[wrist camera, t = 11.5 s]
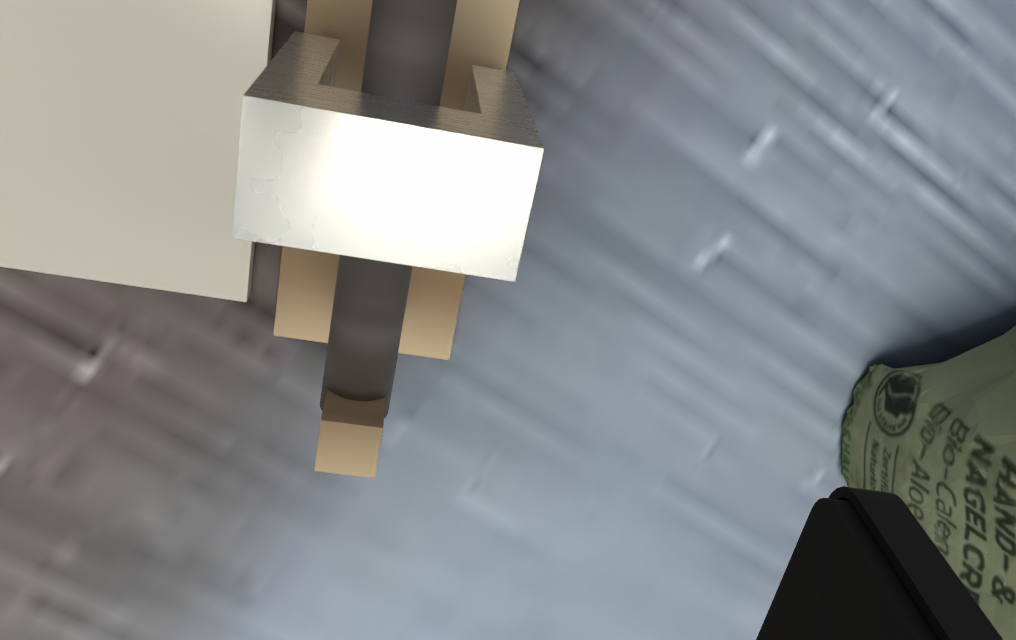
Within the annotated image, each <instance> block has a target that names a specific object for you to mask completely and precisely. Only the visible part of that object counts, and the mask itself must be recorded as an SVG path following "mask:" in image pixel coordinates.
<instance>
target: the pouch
mask: <svg viewBox="0 0 1016 640" xmlns="http://www.w3.org/2000/svg"><path fill="white" fill-rule="evenodd" d="M853 398H854V403H853V405H852V406H851V407H850V408H849V409H848V410H847V417H846V418H845V421H844V424H843V442H842V454H843V457H842V460H841V461H842V472H841V473H842V474H843V476H844V478H845V480H846V482H847V485H848V487H851V488H859V489H867V490H874V491H882V492H890V493H893V494H896V495H898V496H899V497H900V498H901V499H902V500H903V501H904V503H905V504H906V505H907V507H908V508H909V510H910V511H911V512H912V514H913V515H914V517H915V518H916V519H917V521H918V522H919V523H920V525H921V526H922V528H923V529H924V530H925V532H926V533H927V535H928V536H929V537H930V539H931V540H932V541H933V543H934V544H935V546H936V547H937V548H938V550H939V551H940V553H941V554H942V555H943V557H944V558H945V560H946V561H947V562H948V564H949V565H950V566H951V568H952V569H953V571H954V572H955V573H956V575H957V576H958V578H959V579H960V580H961V582H962V583H963V585H964V586H965V587H966V589H967V590H968V591H969V593H970V594H971V596H972V597H973V598H974V600H975V601H976V603H977V604H978V605H979V607H980V608H981V610H982V611H983V612H984V614H985V615H986V616H987V618H988V619H989V621H990V622H991V623H992V625H993V626H994V628H995V629H996V630H997V632H998V633H999V635H1000V636H1001V637H1002V639H1003V640H1016V325H1015V326H1014V327H1013V328H1011V329H1010V330H1009V331H1007V332H1006V333H1005V334H1003V335H1002V336H999V337H997V338H995V339H993V340H991V341H988V342H986V343H984V344H982V345H980V346H978V347H975V348H973V349H971V350H969V351H967V352H965V353H962V354H960V355H958V356H956V357H954V358H952V359H949V360H947V361H945V362H940V363H933V364H926V365H919V366H911V367H904V368H897V369H893V368H891V367H888V366H886V365H883V364H880V365H876V364H874V365H873V366H870V370H869V371H868V373H867V374H866V375H865V377H864V378H863V379H862V380H861V381H860V382H859V383H858V384H857V385H856V387H855V389H854V391H853Z"/></svg>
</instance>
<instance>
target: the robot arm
mask: <svg viewBox="0 0 1016 640" xmlns="http://www.w3.org/2000/svg"><path fill="white" fill-rule="evenodd" d="M756 640H1003V639H1002V637H1001V636H1000V635H999V633H998V632H997V630H996V629H995V628H994V626H993V625H992V623H991V622H990V621H989V619H988V618H987V616H986V615H985V614H984V612H983V611H982V610H981V608H980V607H979V605H978V604H977V603H976V601H975V600H974V598H973V597H972V596H971V594H970V593H969V591H968V590H967V589H966V587H965V586H964V585H963V583H962V582H961V580H960V579H959V578H958V576H957V575H956V573H955V572H954V571H953V569H952V568H951V566H950V565H949V564H948V562H947V561H946V560H945V558H944V557H943V555H942V554H941V553H940V551H939V550H938V548H937V547H936V546H935V544H934V543H933V541H932V540H931V539H930V537H929V536H928V535H927V533H926V532H925V530H924V529H923V528H922V526H921V525H920V523H919V522H918V521H917V519H916V518H915V517H914V515H913V514H912V512H911V511H910V510H909V508H908V507H907V505H906V504H905V503H904V501H903V500H902V499H901V498H900V497H899V496H898V495H896V494H893V493H890V492H882V491H874V490H867V489H859V488H851V487H844V486H843V487H840V488H837V489H836V490H834V491H833V492H832V493H831V495H830V496H829V498H822V499H819V500H818V501H817V502H816V503H815V504H814V506H813V508H812V509H811V512H810V514H809V516H808V519H807V521H806V524H805V526H804V528H803V531H802V533H801V535H800V538H799V540H798V542H797V545H796V547H795V549H794V552H793V554H792V557H791V559H790V561H789V564H788V566H787V568H786V571H785V573H784V575H783V578H782V580H781V583H780V585H779V587H778V590H777V592H776V594H775V597H774V599H773V601H772V604H771V606H770V608H769V611H768V613H767V616H766V618H765V620H764V623H763V625H762V627H761V630H760V632H759V634H758V637H757V639H756Z"/></svg>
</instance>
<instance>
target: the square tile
mask: <svg viewBox="0 0 1016 640" xmlns="http://www.w3.org/2000/svg"><path fill="white" fill-rule="evenodd" d="M275 9H276V0H0V267H7V268H14V269H21V270H28V271H34V272H41V273H48V274H55V275H62V276H69V277H76V278H83V279H90V280H97V281H104V282H111V283H117V284H124V285H131V286H138V287H145V288H152V289H159V290H166V291H173V292H180V293H187V294H194V295H201V296H207V297H214V298H221V299H228V300H235V301H242V302H247V300H248V297H249V295H250V293H251V284H252V272H253V261H254V249H255V241H248V240H242V239H235V238H232V236H233V223H234V210H235V196H236V183H237V170H238V157H239V144H240V131H241V117H242V104H243V95H244V94H245V92H246V91H247V90H248V89H249V87H250V86H251V85H252V84H253V83H254V81H255V80H256V79H257V78H258V76H259V75H260V74H261V73H262V71H263V70H264V69H265V68H266V66H267V65H268V64H269V63H270V61H271V55H272V44H273V32H274V21H275Z"/></svg>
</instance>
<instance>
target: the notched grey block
mask: <svg viewBox="0 0 1016 640" xmlns="http://www.w3.org/2000/svg"><path fill="white" fill-rule="evenodd" d="M339 44H340V40H339V39H333V38H328V37H323V36H318V35H312V34H307V33H302V32H297V31H294V33H293V34H292V35H291V36H290V38H289V39H288V40H287V41H286V43H285V44H284V45H283V46H282V48H281V49H280V50H279V51H278V53H277V54H276V55H275V56H274V58H273V59H272V60H271V61H270V63H269V64H268V65H267V66H266V68H265V69H264V70H263V71H262V73H261V74H260V75H259V76H258V78H257V79H256V80H255V81H254V83H253V84H252V85H251V86H250V87H249V89H248V90H247V91H246V92H245V94H244V95H243V104H242V117H241V131H240V144H239V157H238V170H237V183H236V196H235V210H234V223H233V236H232V238H235V239H242V240H248V241H255V242H261V243H268V244H274V245H281V246H287V247H294V248H300V249H306V250H313V251H319V252H326V253H332V254H339V255H345V256H352V257H358V258H365V259H371V260H378V261H384V262H391V263H397V264H404V265H410V266H417V267H423V268H429V269H436V270H442V271H449V272H455V273H462V274H468V275H475V276H481V277H488V278H494V279H501V280H507V281H514V282H515V278H516V273H517V269H518V264H519V260H520V255H521V251H522V246H523V242H524V237H525V233H526V228H527V224H528V219H529V215H530V210H531V206H532V201H533V197H534V192H535V188H536V183H537V179H538V174H539V170H540V165H541V161H542V156H543V152H544V147H543V145H542V142H541V139H540V137H539V134H538V132H537V129H536V127H535V124H534V121H533V119H532V116H531V114H530V111H529V108H528V106H527V103H526V101H525V98H524V95H523V93H522V90H521V88H520V85H519V82H518V80H517V77H516V75H515V73H513V72H508V71H502V70H497V69H492V68H486V67H481V66H476V65H472V68H471V73H470V79H469V84H468V90H467V96H466V101H465V107H464V111H461V110H456V109H450V108H445V107H439V106H434V105H428V104H423V103H417V102H412V101H406V100H401V99H395V98H390V97H384V96H379V95H373V94H368V93H362V92H357V91H351V90H346V89H340V88H335V87H334V86H335V78H336V69H337V61H338V52H339Z"/></svg>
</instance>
